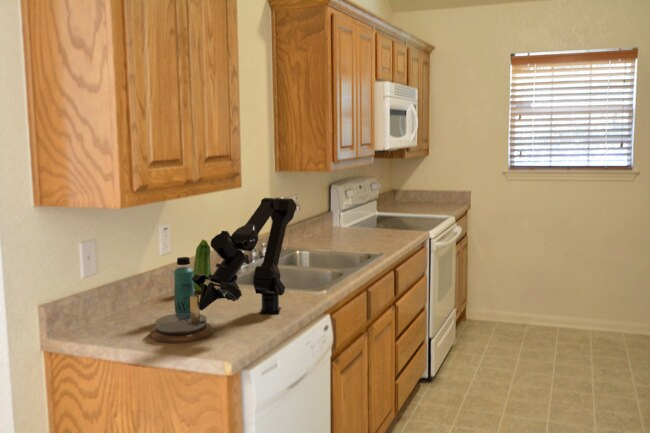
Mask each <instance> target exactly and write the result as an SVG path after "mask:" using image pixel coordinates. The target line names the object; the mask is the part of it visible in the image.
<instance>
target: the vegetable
mask: <svg viewBox="0 0 650 433" xmlns="http://www.w3.org/2000/svg"><path fill="white" fill-rule="evenodd" d="M210 255H211V245H209V242H208V241H207V240H206V239H203V238H202V239H201V241H200V242H199V244H198V246H196V249H195V255H194V256H195V257H194V264H193V271H194V272H193V276H194V275H195V274H202V275H205V276H206V277H207V278H208V276H209V274H211V275H212V267H211V256H210ZM208 279H209V278H208ZM209 280H210V279H209ZM194 291H195V292H198V293H201V288H200V287H199V286H198V285H197V284H196V283H195V282H194Z"/></svg>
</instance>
